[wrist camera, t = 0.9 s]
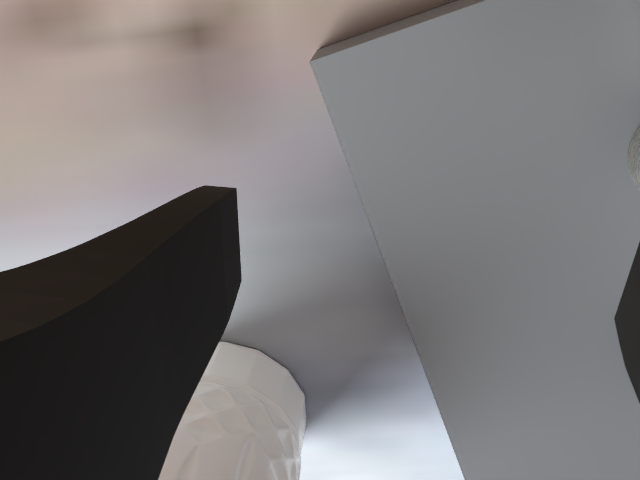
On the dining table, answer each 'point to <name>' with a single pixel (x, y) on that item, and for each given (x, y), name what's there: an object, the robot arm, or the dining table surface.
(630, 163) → the peg lever
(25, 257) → the dining table surface
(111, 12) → the dining table surface
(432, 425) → the dining table surface
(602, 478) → the dial board
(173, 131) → the dining table surface
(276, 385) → the white cup
